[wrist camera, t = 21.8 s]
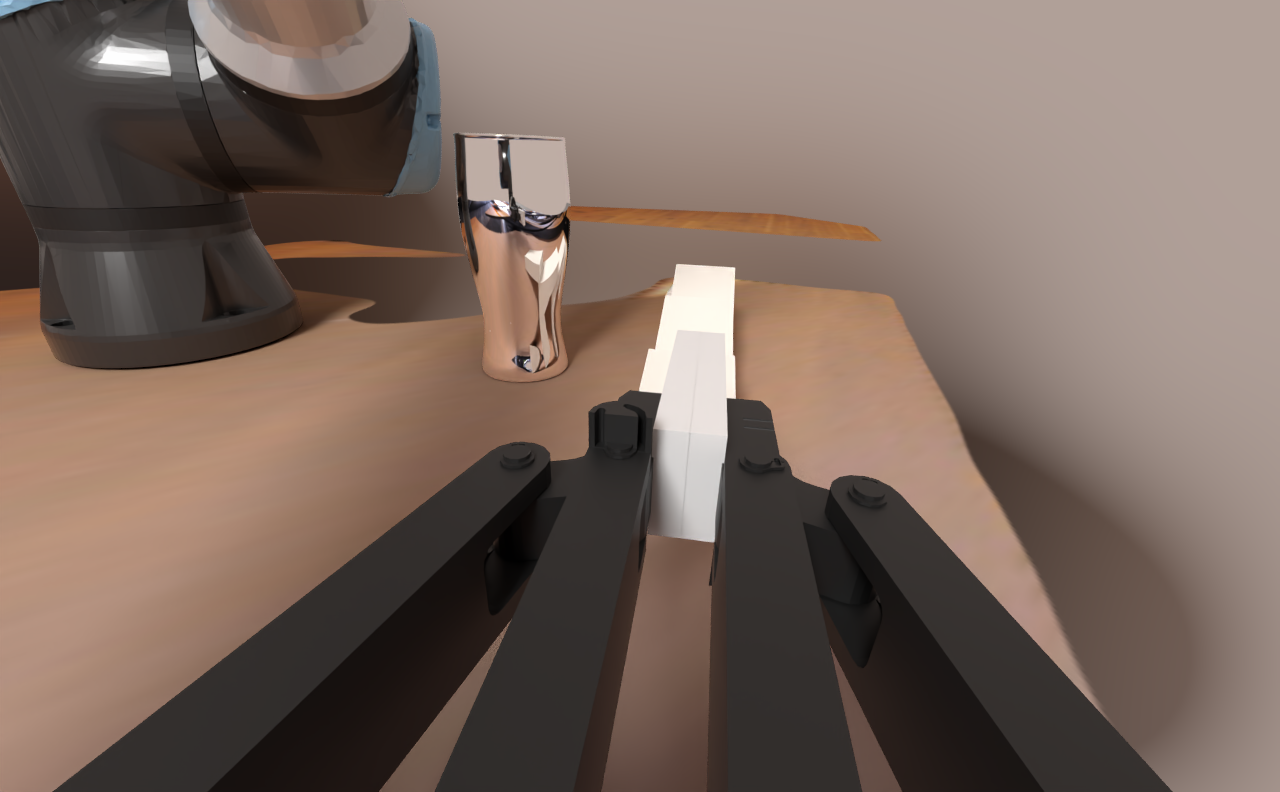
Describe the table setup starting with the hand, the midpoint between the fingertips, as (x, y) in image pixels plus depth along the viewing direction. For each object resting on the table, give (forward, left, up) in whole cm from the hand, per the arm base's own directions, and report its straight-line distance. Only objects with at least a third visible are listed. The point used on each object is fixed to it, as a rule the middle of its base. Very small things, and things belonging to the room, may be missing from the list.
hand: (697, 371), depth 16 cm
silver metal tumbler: (-21, -2, -8) cm, 23 cm away
